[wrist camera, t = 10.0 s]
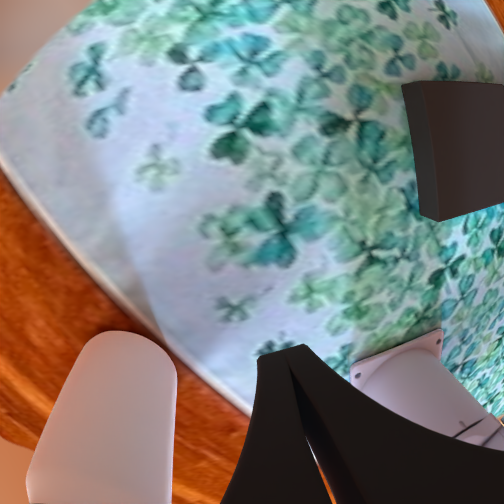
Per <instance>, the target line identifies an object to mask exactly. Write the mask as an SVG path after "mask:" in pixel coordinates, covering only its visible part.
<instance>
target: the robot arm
mask: <svg viewBox="0 0 504 504" xmlns="http://www.w3.org/2000/svg"><path fill="white" fill-rule="evenodd" d="M443 338H444V332H443V330H442V329H436V330H434V331H432V332H430V333H427V334H425V335H423V336H421V337H418V338H416V339H414V340H411V341H409V342H407V343H404V344H402V345H400V346H397V347H395V348H392V349H390V350H387V351H385V352H382V353H380V354H377V355H374V356H372V357H369V358H366V359H364V360H361V361H358V362H356V363H354V364H353V365H351V367H350V383H351V384H350V383H349V382H348V381H346V380H345V379H344V378H342V377H341V376H340V375H339V374H337V373H336V372H335V371H334V370H333V369H331V368H330V367H329V366H328V365H327V364H326V363H325V362H323V361H322V360H321V359H320V358H319V357H318V356H317V355H316V354H315V353H314V352H313V351H312V350H311V349H310V348H309V347H308V346H307V345H305V344H301V345H297V346H294V347H290V348H287V349H283V350H280V351H276V352H273V353H269V354H265V355H262V356H259V358H258V359H257V385H256V394H255V400H254V405H253V411H252V416H251V420H250V424H249V428H248V432H247V435H246V439H245V443H244V446H243V449H242V452H241V455H240V458H239V461H238V464H237V466H236V469H235V471H234V474H233V476H232V479H231V481H230V483H229V485H228V488H227V490H226V492H225V494H224V496H223V498H222V500H221V502H220V504H332V501H331V499H330V497H329V494H328V492H327V489H326V487H325V484H324V482H323V479H322V477H321V474H320V472H319V469H318V467H317V464H316V462H315V459H314V457H313V454H312V451H313V453H314V455H315V457H316V459H317V461H318V463H319V466H320V468H321V470H322V472H323V474H324V476H325V478H326V480H327V482H328V484H329V486H330V489H331V491H332V493H333V496H334V498H335V501H336V504H504V427H503V425H502V424H501V423H500V422H499V421H498V420H497V419H496V418H495V416H494V415H493V414H492V413H488V412H487V411H486V410H485V409H484V408H483V407H482V405H481V404H480V403H479V402H478V401H477V400H476V399H475V398H474V397H473V396H472V395H471V394H470V392H469V391H468V390H467V389H466V388H465V387H464V386H463V385H462V384H461V383H460V382H459V381H458V380H457V379H456V378H455V377H454V375H453V374H452V373H451V372H450V371H449V370H448V369H447V368H446V367H445V366H444V365H443V364H442V363H441V362H440V360H441V353H442V346H443ZM357 373H358V374H357ZM356 374H357V375H356ZM501 421H502V423H503V424H504V417H503V418H502V419H501ZM307 440H308V441H307ZM308 442H309V444H310V446H311V449H312V451H311V449H310V446H309V444H308Z"/></svg>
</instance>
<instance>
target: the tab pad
mask: <svg viewBox="0 0 504 504" xmlns="http://www.w3.org/2000/svg"><path fill="white" fill-rule="evenodd" d="M401 87H402V92H403V96H404V101H405V106H406V111H407V116H408V122H409V127H410V133H411V139H412V146H413V153H414V160H415V168H416V176H417V186H418V196H419V208H420V215H422V216H424V217H427V218H429V219H432V220H434V221H437V222H441V221H445V220H448V219H451V218H455V217H458V216H461V215H465V214H468V213H471V212H474V211H478V210H481V209H484V208H487V207H490V206H494V205H497V204H500V203H503V202H504V87H503V85H502V84H492V83H479V82H462V81H417V82H412V83H408V84H404V85H402V86H401Z"/></svg>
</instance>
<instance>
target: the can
mask: <svg viewBox="0 0 504 504" xmlns="http://www.w3.org/2000/svg"><path fill="white" fill-rule="evenodd" d="M176 394H177V372H176V369H175V366H174V364H173V362H172V360H171V358H170V357H169V356H168V354H167V353H166V352H165V351H164V350H163V349H162V348H161V347H160V346H158V345H157V344H156V343H154V342H153V341H151V340H149V339H147V338H145V337H143V336H141V335H138V334H135V333H131V332H126V331H106V332H103V333H100V334H98V335H96V336H94V337H93V338H92V339H90V340H89V341H88V342H87V343H86V345H85V346H84V347H83V349H82V351H81V353H80V354H79V356H78V358H77V360H76V362H75V364H74V366H73V368H72V370H71V372H70V374H69V376H68V378H67V380H66V382H65V384H64V386H63V388H62V390H61V392H60V394H59V396H58V399H57V401H56V403H55V405H54V407H53V410H52V412H51V414H50V416H49V419H48V421H47V423H46V425H45V428H44V430H43V433H42V435H41V437H40V440H39V442H38V445H37V447H36V450H35V452H34V455H33V458H32V460H31V463H30V466H29V469H28V472H27V476H26V487H27V493H28V498H29V504H171V494H172V466H173V444H174V425H175V409H176Z"/></svg>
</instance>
